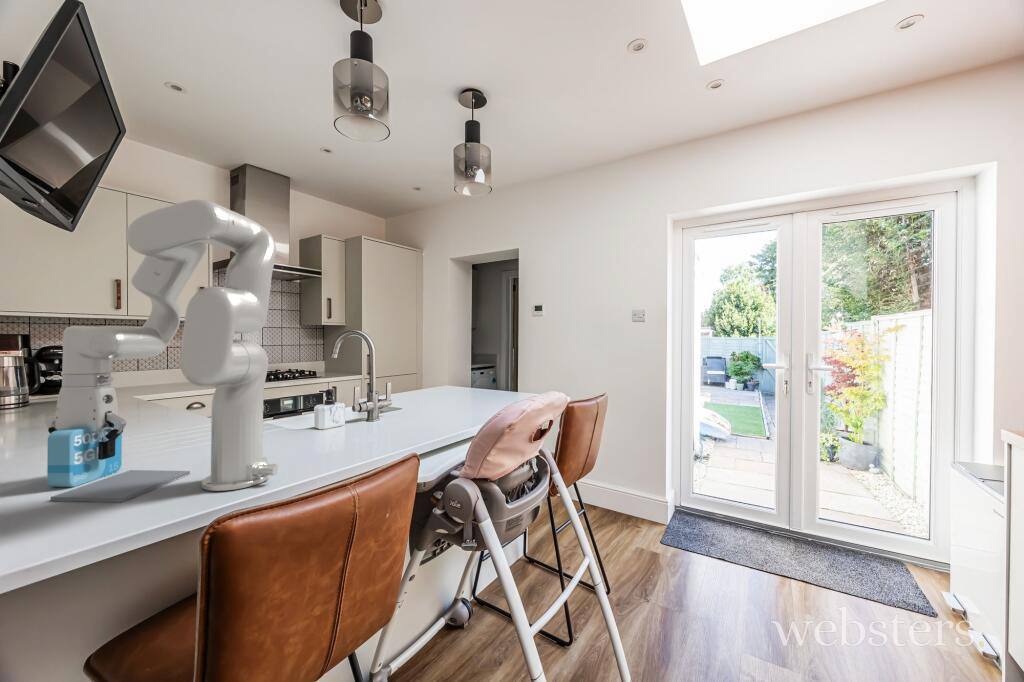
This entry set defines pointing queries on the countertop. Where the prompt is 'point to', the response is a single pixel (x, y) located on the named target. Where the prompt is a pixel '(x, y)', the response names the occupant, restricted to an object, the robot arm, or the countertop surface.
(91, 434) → the data package
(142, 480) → the grey mat
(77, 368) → the robot arm
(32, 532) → the countertop surface
